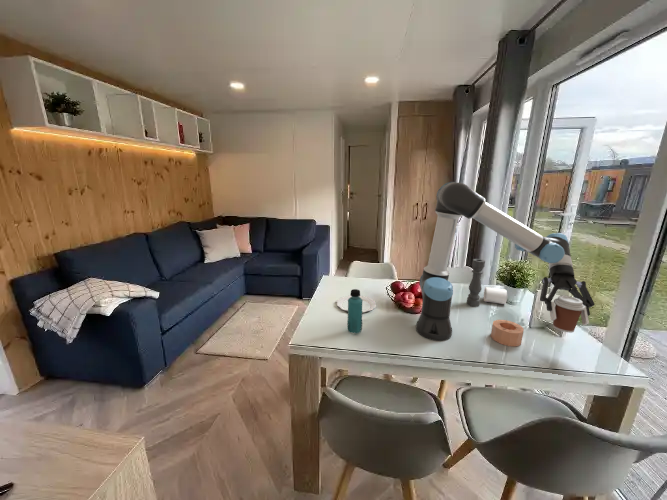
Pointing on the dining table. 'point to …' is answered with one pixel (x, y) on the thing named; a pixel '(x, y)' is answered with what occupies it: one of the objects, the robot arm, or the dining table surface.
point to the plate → (370, 301)
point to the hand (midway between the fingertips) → (569, 321)
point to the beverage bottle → (355, 312)
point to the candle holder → (475, 283)
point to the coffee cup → (567, 313)
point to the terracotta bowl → (507, 332)
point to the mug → (495, 295)
